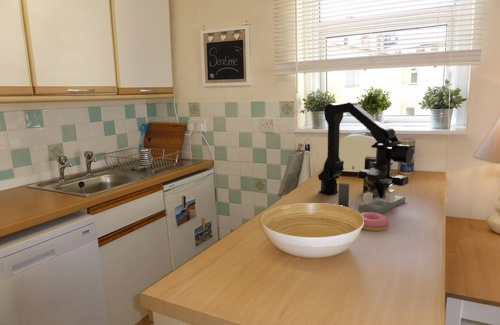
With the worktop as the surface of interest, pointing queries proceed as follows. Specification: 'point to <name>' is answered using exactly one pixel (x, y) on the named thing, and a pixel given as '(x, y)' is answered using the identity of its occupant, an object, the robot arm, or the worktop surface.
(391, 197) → the block
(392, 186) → the paddle right
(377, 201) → the breaker panel
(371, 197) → the paddle left
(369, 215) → the doughnut
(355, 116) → the robot arm
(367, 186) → the coffee box
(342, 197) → the dark grey tall block
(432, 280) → the worktop surface
